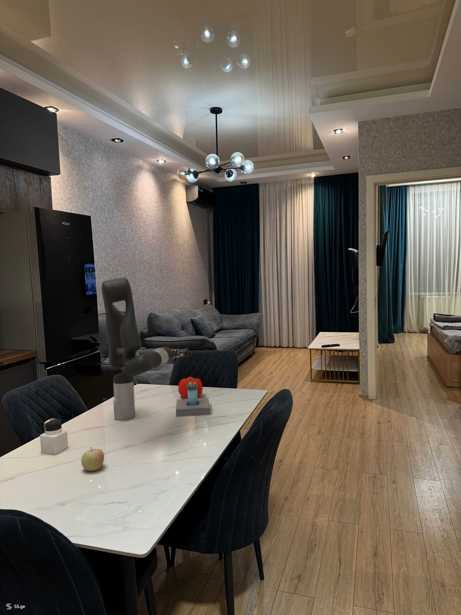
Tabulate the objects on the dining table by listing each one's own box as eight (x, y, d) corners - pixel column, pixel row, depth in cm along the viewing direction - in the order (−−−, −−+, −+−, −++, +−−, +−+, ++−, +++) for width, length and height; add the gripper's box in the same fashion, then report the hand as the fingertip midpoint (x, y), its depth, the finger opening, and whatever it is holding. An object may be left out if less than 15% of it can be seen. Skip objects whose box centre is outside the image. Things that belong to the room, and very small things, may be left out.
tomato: (201, 401, 221) (201, 381, 221) (176, 401, 222) (176, 382, 221) (203, 393, 235) (203, 375, 234) (180, 394, 235) (179, 375, 234)
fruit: (92, 475, 142) (90, 452, 141) (77, 471, 146) (76, 448, 145) (109, 466, 148) (108, 444, 147) (95, 462, 152) (94, 440, 151)
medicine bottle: (68, 447, 166) (66, 418, 165) (55, 455, 159) (53, 424, 158) (54, 445, 168) (52, 416, 167) (40, 453, 162) (38, 422, 161)
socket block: (176, 416, 198) (175, 409, 198) (177, 406, 214) (176, 399, 214) (210, 414, 199) (209, 407, 199) (208, 404, 215) (208, 397, 215)
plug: (187, 412, 204) (186, 384, 202) (187, 408, 209) (186, 381, 208) (198, 411, 204) (197, 383, 203) (198, 407, 209) (197, 381, 208)
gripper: (174, 348, 175) (192, 342, 190) (145, 347, 181) (165, 341, 196) (175, 366, 176) (193, 358, 191) (146, 364, 181) (166, 357, 196)
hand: (179, 350), depth 193 cm, fingers open, 8 cm apart
